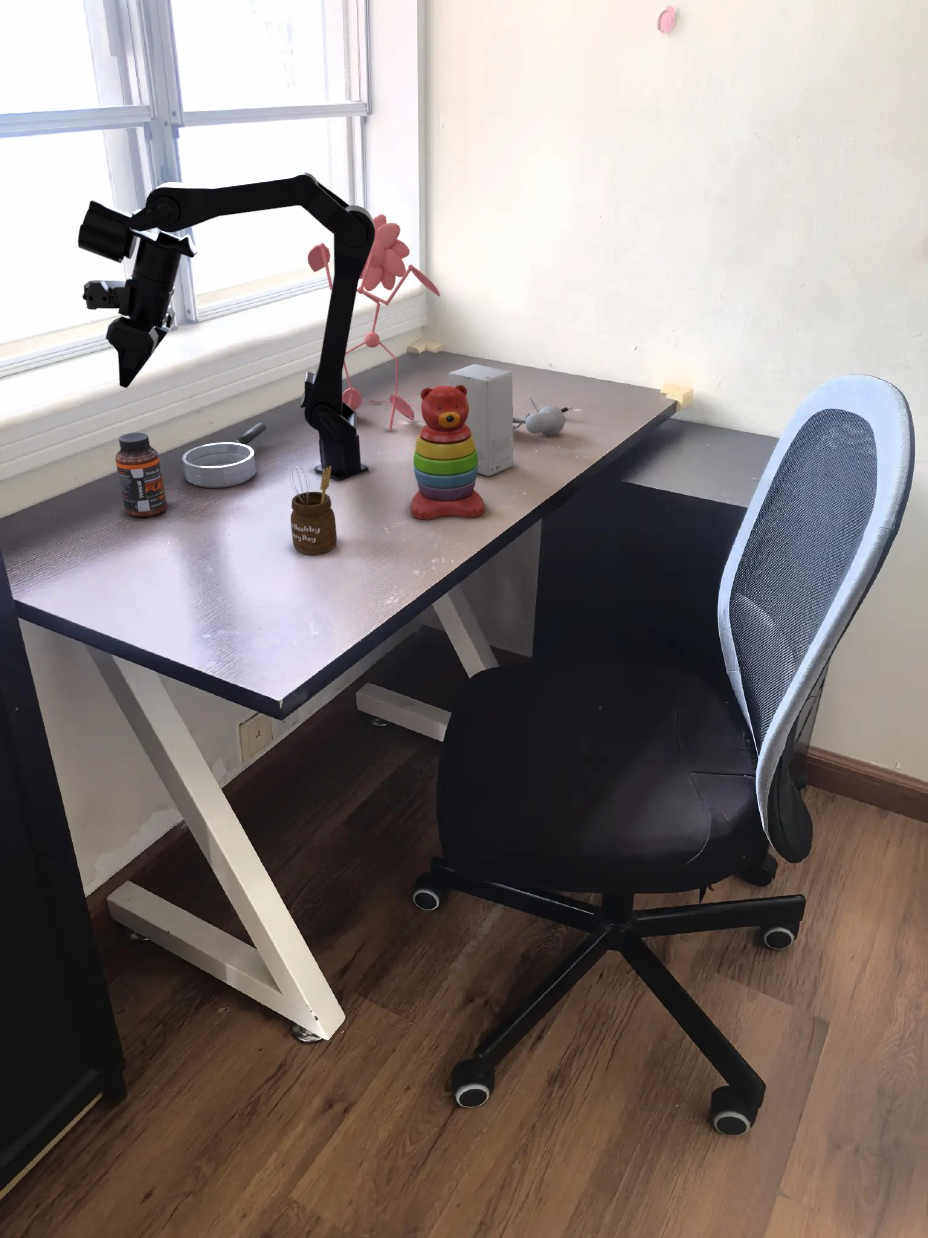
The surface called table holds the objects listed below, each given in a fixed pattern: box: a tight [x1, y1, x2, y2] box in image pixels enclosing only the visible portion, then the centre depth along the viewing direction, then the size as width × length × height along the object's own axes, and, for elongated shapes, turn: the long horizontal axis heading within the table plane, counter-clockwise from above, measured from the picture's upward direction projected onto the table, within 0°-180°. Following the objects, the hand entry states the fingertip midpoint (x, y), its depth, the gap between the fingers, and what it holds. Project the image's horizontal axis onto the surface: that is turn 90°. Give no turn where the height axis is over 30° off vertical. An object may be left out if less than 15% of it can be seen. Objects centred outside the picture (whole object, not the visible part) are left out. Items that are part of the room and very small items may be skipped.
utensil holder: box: [289, 465, 338, 556], centre depth 122 cm, size 6×6×12 cm
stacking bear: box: [410, 385, 486, 520], centre depth 132 cm, size 11×10×18 cm
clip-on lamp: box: [513, 395, 573, 437], centre depth 164 cm, size 12×6×18 cm
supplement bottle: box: [114, 432, 168, 518], centre depth 133 cm, size 6×6×11 cm
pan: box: [181, 442, 257, 489], centre depth 146 cm, size 11×11×4 cm
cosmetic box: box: [448, 363, 514, 477], centre depth 146 cm, size 8×7×16 cm
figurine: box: [307, 213, 441, 436], centre depth 163 cm, size 15×26×35 cm, turn 66°
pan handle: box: [229, 422, 267, 451], centre depth 155 cm, size 11×2×2 cm, turn 166°
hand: (130, 377), depth 138 cm, fingers open, 9 cm apart
